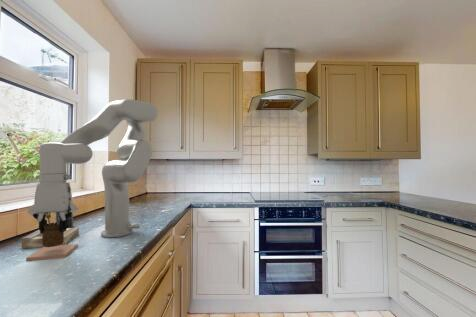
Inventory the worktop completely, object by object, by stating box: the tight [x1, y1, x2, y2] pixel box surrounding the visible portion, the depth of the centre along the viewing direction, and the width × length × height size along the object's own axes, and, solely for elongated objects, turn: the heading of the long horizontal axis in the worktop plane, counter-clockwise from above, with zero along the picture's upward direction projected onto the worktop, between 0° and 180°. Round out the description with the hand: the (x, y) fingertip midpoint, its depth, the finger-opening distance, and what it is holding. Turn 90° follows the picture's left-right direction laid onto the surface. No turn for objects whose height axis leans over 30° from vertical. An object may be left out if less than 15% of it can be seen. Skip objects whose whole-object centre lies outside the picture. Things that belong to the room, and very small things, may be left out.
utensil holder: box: [42, 212, 64, 247], centre depth 89 cm, size 6×6×12 cm
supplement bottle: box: [55, 209, 74, 228], centre depth 123 cm, size 7×7×12 cm
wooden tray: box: [21, 227, 80, 249], centre depth 103 cm, size 14×14×4 cm
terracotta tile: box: [25, 243, 79, 262], centre depth 89 cm, size 11×11×1 cm
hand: (53, 231), depth 89 cm, fingers closed on utensil holder, 5 cm apart
